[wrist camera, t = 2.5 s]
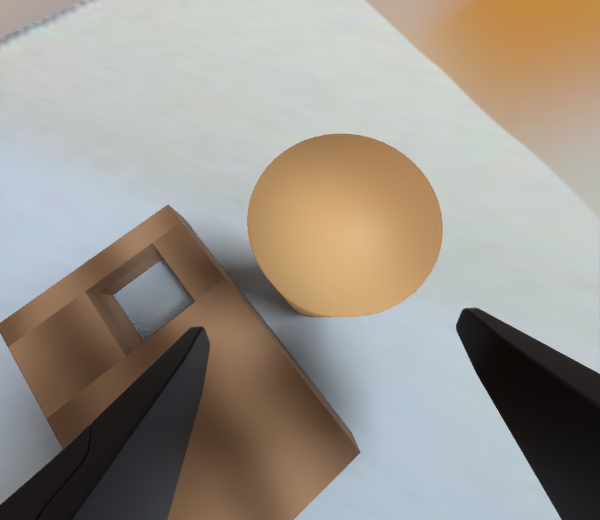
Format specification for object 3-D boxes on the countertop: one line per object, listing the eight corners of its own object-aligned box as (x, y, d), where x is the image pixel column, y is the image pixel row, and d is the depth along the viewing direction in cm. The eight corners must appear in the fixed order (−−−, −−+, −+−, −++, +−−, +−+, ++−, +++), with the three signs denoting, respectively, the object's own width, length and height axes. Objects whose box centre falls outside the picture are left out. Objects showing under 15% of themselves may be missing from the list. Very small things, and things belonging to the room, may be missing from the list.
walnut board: (190, 591, 15) (168, 645, 12) (37, 324, 18) (-4, 325, 16) (351, 432, 17) (360, 452, 14) (184, 218, 20) (168, 204, 18)
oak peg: (309, 328, 18) (336, 363, 4) (275, 286, 19) (208, 206, 5) (350, 293, 19) (483, 228, 5) (315, 254, 19) (350, 103, 6)
